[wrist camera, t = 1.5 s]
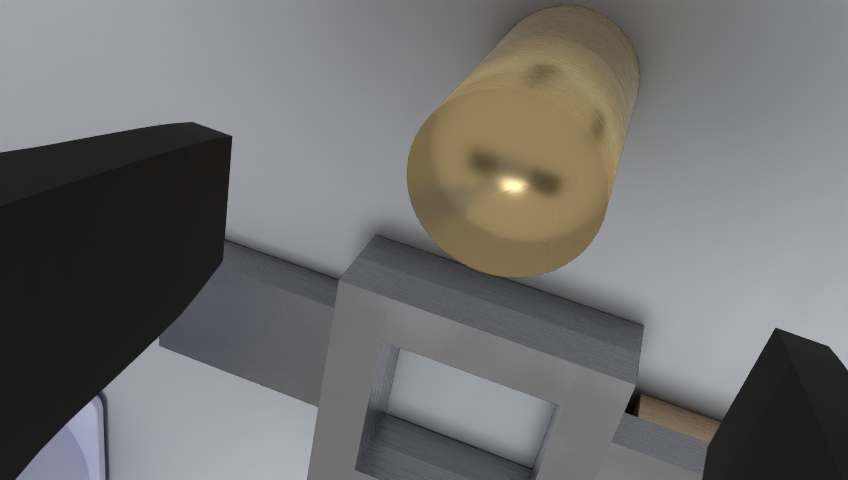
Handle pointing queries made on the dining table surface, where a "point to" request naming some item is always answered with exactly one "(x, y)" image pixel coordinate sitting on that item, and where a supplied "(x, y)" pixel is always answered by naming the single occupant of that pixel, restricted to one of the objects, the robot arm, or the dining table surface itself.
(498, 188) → the brass pin
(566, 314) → the chain
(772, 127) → the dining table surface
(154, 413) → the dining table surface
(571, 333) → the chain
